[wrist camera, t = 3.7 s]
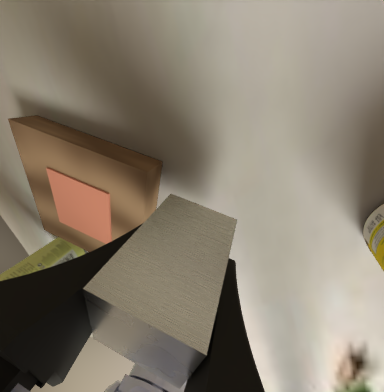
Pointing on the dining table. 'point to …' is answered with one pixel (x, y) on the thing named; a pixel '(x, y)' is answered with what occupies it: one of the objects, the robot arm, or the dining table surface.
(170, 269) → the steel column
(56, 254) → the tube
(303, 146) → the dining table surface
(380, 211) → the supplement bottle
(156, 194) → the board
